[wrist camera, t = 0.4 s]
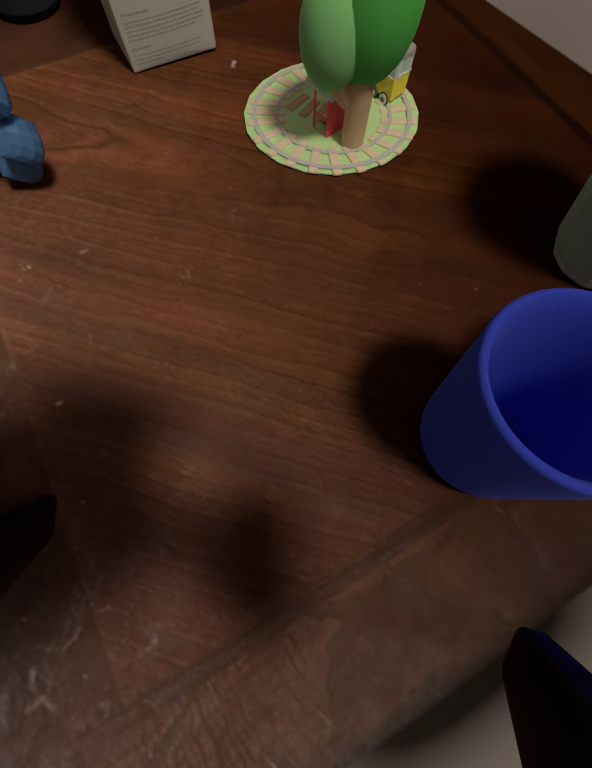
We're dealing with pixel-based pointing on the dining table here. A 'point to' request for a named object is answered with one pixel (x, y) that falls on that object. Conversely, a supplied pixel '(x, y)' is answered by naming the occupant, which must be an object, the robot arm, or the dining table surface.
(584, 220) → the disposable coffee cup
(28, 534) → the robot arm
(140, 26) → the cosmetic box
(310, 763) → the dining table surface
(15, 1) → the beverage can
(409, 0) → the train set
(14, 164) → the grapes
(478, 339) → the mug
